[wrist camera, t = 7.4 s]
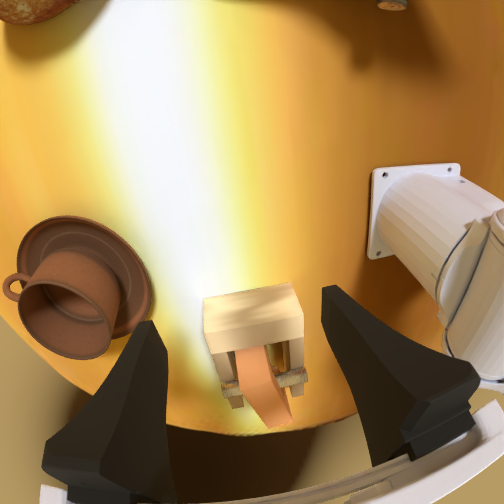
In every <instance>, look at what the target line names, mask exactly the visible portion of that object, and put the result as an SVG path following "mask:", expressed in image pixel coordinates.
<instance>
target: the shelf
mask: <svg viewBox="0 0 504 504" xmlns="http://www.w3.org/2000/svg"><path fill="white" fill-rule="evenodd" d="M203 320H204V335H205V338H206V341H207V344H208V346H209V349H210V352H211V355H212V357H213V360H214V363H215V365H216V368H217V371H218V373H219V376H220V379H221V381H222V392H223V396H224V398H227V397H228V399H229V402H230V404H231V406H232V409H234V408H240V407H244V404H243V397H242V395H243V394H242V392H241V391H240V386H239V379H238V372H237V367H236V363H235V360H234V356H233V353H232V351H235V350H240V349H246V348H251V347H257V346H262V345H267V344H272V343H277V342H282V348H283V360H284V369H285V371H284V372H280V373H275V374H274V376H275V378H276V380H277V382H278V384H279V386H280V388H282V387H287V386H289V387H290V391H291V395H292V397H297V396H301V395H304V383H305V382H308V376H307V372H306V369H305V367H304V314H303V312H302V309H301V307H300V304H299V302H298V299H297V297H296V294H295V292H294V289H293V287H292V284H291V282H289V283H284V284H279V285H273V286H268V287H263V288H258V289H253V290H247V291H242V292H236V293H231V294H225V295H220V296H214V297H208V298H203Z"/></svg>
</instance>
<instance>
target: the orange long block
mask: <svg viewBox="0 0 504 504" xmlns="http://www.w3.org/2000/svg"><path fill="white" fill-rule="evenodd" d="M235 358H236V365H237V372H238V379H239V386H240V391H241V392H242V394H243V395H244V396H245V398H246V399H247V401H248V402H249V403H250V405H251V406H252V407H253V409H254V410H255V411H256V413H257V414H258V415H259V417H260V418H261V420H262V421H263V422H264V423H265V425H266V426H267V427H268V429H269V428H273V427H277V426H280V425H284V424H287V423H291V422H293V419H292V415H291V411H290V407H289V404H288V400H287V396H286V392H285V388H284V387H282V388H280V386H279V384H278V382H277V380H276V378H275V376H274V374H275V373H280V371H279V369H278V366H275V367H271V365H270V361H269V357H268V352H267V348H266V345H262V346H257V347H251V348H246V349H240V350H235Z"/></svg>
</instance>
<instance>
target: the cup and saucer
mask: <svg viewBox="0 0 504 504" xmlns="http://www.w3.org/2000/svg"><path fill="white" fill-rule="evenodd" d="M17 272H18V273H15V274H12V275H10V276H9V277H7V278H6V279H5V281H4V283H3V292H4V294H5V296H6V297H8V298H9V299H11V300H13V301H15V302H18V311H19V315H20V318H21V321H22V323H23V324H24V326H25V328H26V329H27V331H28V332H29V333H30V334H31V336H32V337H33V338H34V339H35V340H36V341H37V342H39V343H40V344H41V345H42V346H44V347H45V348H47V349H48V350H50V351H52V352H54V353H56V354H58V355H60V356H63V357H66V358H70V359H76V360H89V359H94V358H97V357H99V356H101V355H102V354H103V353H105V351H106V350H107V349H108V347H109V345H110V341H111V340H112V339H117V338H120V337H123V336H126V335H128V334H130V333H131V332H133V331H134V330H135V328H136V326H137V325H138V323H139V322H143V321H144V320H145V318H146V316H147V314H148V312H149V309H150V304H151V288H150V282H149V278H148V275H147V272H146V269H145V267H144V265H143V263H142V261H141V260H140V258H139V256H138V255H137V254H136V252H135V251H134V250H133V249H132V247H131V246H130V245H129V244H128V243H127V242H126V241H125V240H124V239H123V238H122V237H120V236H119V235H118V234H117V233H115V232H114V231H112V230H111V229H109V228H108V227H106V226H104V225H102V224H100V223H98V222H96V221H93V220H90V219H87V218H83V217H78V216H68V215H67V216H56V217H52V218H49V219H46V220H44V221H42V222H40V223H38V224H37V225H35V226H34V227H33V228H31V229H30V230H29V231H28V232H27V233H26V235H25V236H24V238H23V239H22V241H21V243H20V246H19V249H18V254H17ZM17 280H19V281H20V284H21V286H22V289H23V290H22V292H21V294H17V293H14V292H12V291H11V290H10V285H11V284H12V283H13V282H14V281H17Z"/></svg>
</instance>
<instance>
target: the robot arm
mask: <svg viewBox="0 0 504 504" xmlns="http://www.w3.org/2000/svg"><path fill="white" fill-rule="evenodd" d="M448 168H449V170H448ZM384 172H385V173H386V174H385V176H384V177H382V175H383V173H384ZM378 251H379V253H377V252H378ZM376 253H377V254H376ZM391 255H396V256H397V258H398V259H399V260H400V261H401V262H402V263H403V264H404V265H405V266H406V268H407V269H408V270H409V271H410V272H411V273H412V274H413V276H414V277H415V278H416V279H417V280H418V281H419V283H420V284H421V285H422V286H423V287H424V288H425V290H426V291H427V292H428V293H429V294H430V296H431V297H432V298H433V299H434V300H435V302H436V303H437V304H438V305H439V312H438V315H437V318H438V319H439V320H440V322H441V323H442V324H443V326H444V327H445V330H444V332H443V335H442V341H441V346H442V351H443V354H442V353H439V352H437V351H434V350H432V349H429V348H427V347H425V346H423V345H421V344H419V343H417V342H414V341H413V340H411V339H409V338H407V337H405V336H403V335H402V334H400V333H398V332H397V331H395V330H393V329H392V328H390V327H389V326H387V325H386V324H384V323H383V322H382V321H380V320H379V319H377V318H376V317H375V316H373V315H372V314H371V313H370V312H368V311H367V310H366V309H364V308H363V307H362V306H361V305H359V304H358V303H357V302H356V301H355V300H353V299H352V298H351V297H350V296H349V295H348V294H346V293H345V292H344V291H343V290H342V289H341V288H339V287H338V286H337V285H331V286H327V287H323V288H322V312H321V323H322V326H323V329H324V332H325V334H326V337H327V340H328V343H329V345H330V347H331V349H332V351H333V353H334V355H335V357H336V359H337V361H338V363H339V365H340V367H341V369H342V371H343V373H344V375H345V377H346V380H347V382H348V384H349V386H350V389H351V392H352V394H353V397H354V400H355V403H356V406H357V409H358V413H359V416H360V419H361V422H362V426H363V430H364V433H365V437H366V441H367V445H368V449H369V453H370V458H371V462H372V467H373V468H370V469H368V470H365V471H362V472H359V473H356V474H353V475H350V476H347V477H344V478H341V479H338V480H335V481H331V482H328V483H324V484H321V485H317V486H313V487H309V488H305V489H301V490H297V491H292V492H288V493H283V494H277V495H272V496H266V497H260V498H253V499H246V500H238V501H229V502H219V503H204V504H317V503H320V502H324V501H328V500H331V499H335V498H338V497H341V496H344V495H347V494H350V493H353V492H356V491H359V490H362V489H365V488H367V487H370V486H372V487H370V488H368V489H366V490H363V491H361V492H358V493H356V494H354V495H351V497H350V500H348V501H346V502H345V503H344V504H432V503H433V502H435V501H437V500H439V499H440V498H442V497H444V496H445V495H447V494H448V493H450V492H452V491H453V490H455V489H456V488H458V487H460V486H461V485H463V484H464V483H466V482H467V481H469V480H470V479H471V478H473V477H474V476H476V475H477V474H478V473H480V472H481V471H483V470H484V469H485V468H486V467H488V466H489V465H490V464H492V463H493V462H494V461H496V460H497V459H498V458H499V457H501V456H502V455H503V454H504V412H503V411H502V409H501V407H500V405H499V404H498V402H497V401H496V399H493V400H492V401H490V402H489V403H487V404H486V405H484V406H483V407H481V408H480V409H478V410H477V411H476V412H475V413H473V414H472V415H471V414H470V412H469V409H470V408H471V405H470V404H469V402H468V400H469V399H470V397H471V396H472V395H473V393H474V392H475V391H476V390H477V388H483V389H491V390H495V391H498V392H500V393H502V394H504V202H503V201H501V200H500V199H498V198H497V197H495V196H494V195H492V194H490V193H489V192H487V191H485V190H484V189H482V188H480V187H479V186H477V185H475V184H474V183H472V182H470V181H468V180H467V179H465V178H463V177H461V176H460V165H459V164H457V163H444V164H426V165H411V166H398V167H386V168H377V169H375V170H374V171H373V172H372V187H371V208H370V224H369V237H368V248H367V256H368V257H369V259H377V258H382V257H386V256H391ZM167 388H168V353H167V349H166V347H165V345H164V343H163V341H162V339H161V337H160V335H159V333H158V331H157V329H156V327H155V325H154V323H153V321H152V320H150V321H143V322H139V323H138V325H137V326H136V328H135V330H134V332H133V333H132V335H131V337H130V339H129V341H128V342H127V344H126V346H125V348H124V350H123V351H122V353H121V355H120V356H119V358H118V360H117V362H116V363H115V365H114V367H113V368H112V370H111V371H110V373H109V374H108V376H107V378H106V379H105V381H104V382H103V383H102V385H101V386H100V388H99V389H98V390H97V392H96V393H95V394H94V396H93V397H92V398H91V399H90V400H89V401H88V403H87V404H86V405H85V406H84V407H83V408H82V410H81V411H80V412H79V413H78V414H77V415H76V416H75V417H74V418H73V419H72V420H71V421H70V422H69V423H68V424H66V425H65V426H64V427H63V428H62V429H61V430H60V431H58V432H57V433H56V434H55V435H54V436H52V437H51V438H50V439H48V440H47V441H46V444H45V449H44V454H43V460H42V466H41V467H42V469H43V470H44V471H45V472H46V473H47V474H49V475H50V476H52V477H54V478H56V479H58V480H59V481H61V482H63V483H65V484H67V485H68V491H67V490H64V489H61V488H57V487H53V486H49V485H45V484H42V485H41V493H40V503H39V504H176V503H177V502H178V499H177V496H176V491H175V487H174V482H173V477H172V471H171V466H170V459H169V451H168V443H167V432H166V404H167ZM378 483H379V484H378ZM375 484H377V485H375ZM373 485H374V486H373Z"/></svg>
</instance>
